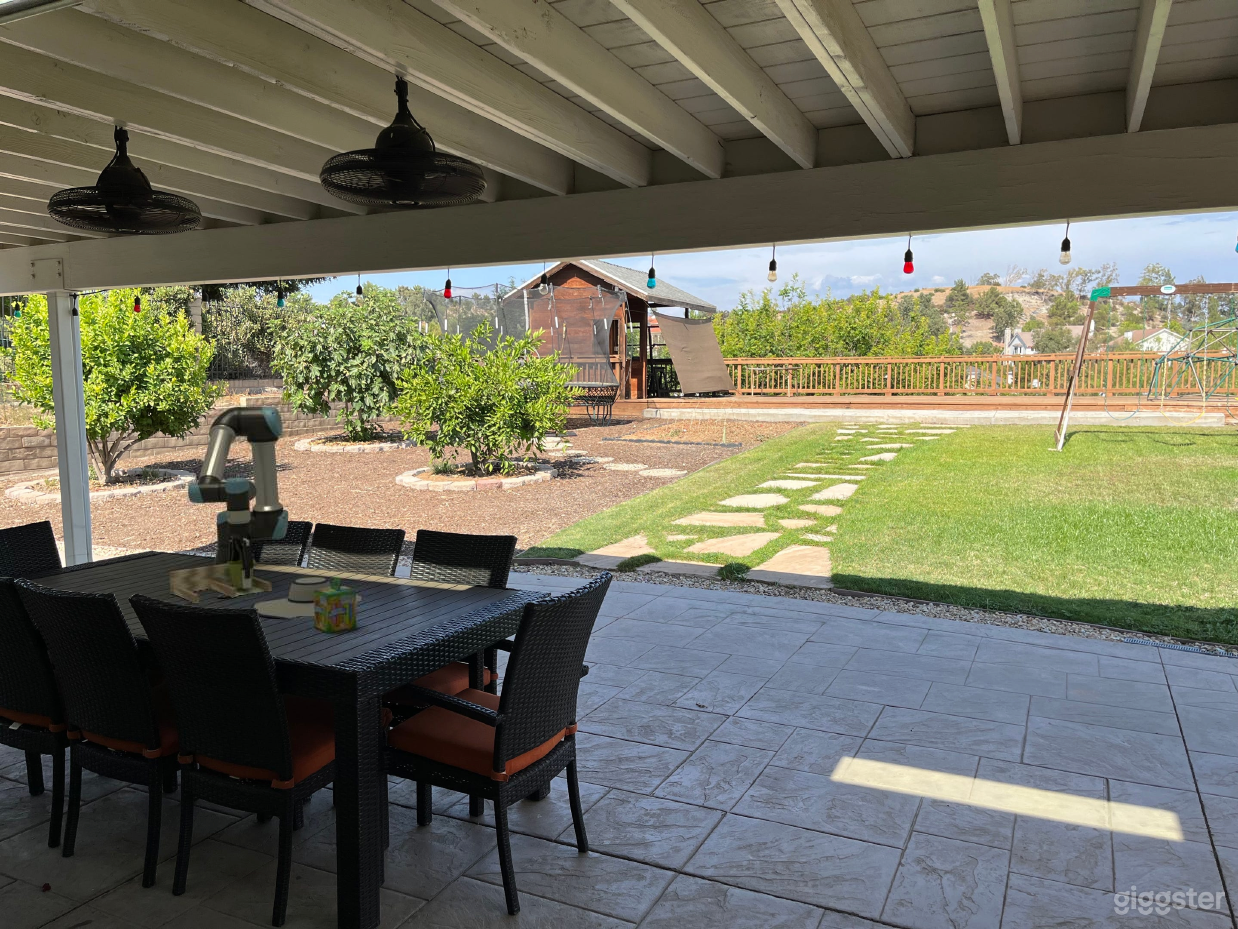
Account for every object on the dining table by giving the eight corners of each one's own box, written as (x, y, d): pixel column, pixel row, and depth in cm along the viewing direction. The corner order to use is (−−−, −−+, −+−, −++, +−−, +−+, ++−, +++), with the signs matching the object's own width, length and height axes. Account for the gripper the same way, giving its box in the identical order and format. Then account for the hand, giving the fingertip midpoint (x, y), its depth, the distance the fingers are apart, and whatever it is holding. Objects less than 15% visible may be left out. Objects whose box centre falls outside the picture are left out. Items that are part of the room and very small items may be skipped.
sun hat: (255, 627, 259) (254, 597, 258) (247, 602, 291) (246, 575, 290) (378, 612, 275) (377, 584, 274) (357, 590, 307) (356, 564, 306)
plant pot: (227, 590, 298) (225, 565, 297) (228, 584, 307) (227, 560, 306) (256, 588, 302) (255, 563, 301) (256, 582, 310) (255, 558, 310)
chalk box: (313, 628, 255) (312, 578, 254) (342, 622, 261) (341, 573, 260) (328, 634, 248) (326, 583, 247) (357, 627, 255) (356, 578, 254)
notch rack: (248, 582, 318) (247, 560, 317) (273, 591, 303) (272, 568, 303) (170, 594, 299) (169, 572, 298) (193, 604, 284) (192, 580, 283)
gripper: (216, 520, 307) (219, 583, 309) (240, 526, 292) (243, 592, 294) (237, 518, 312) (240, 579, 314) (262, 523, 298) (265, 588, 300)
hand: (241, 585), depth 304 cm, fingers closed on plant pot, 8 cm apart
